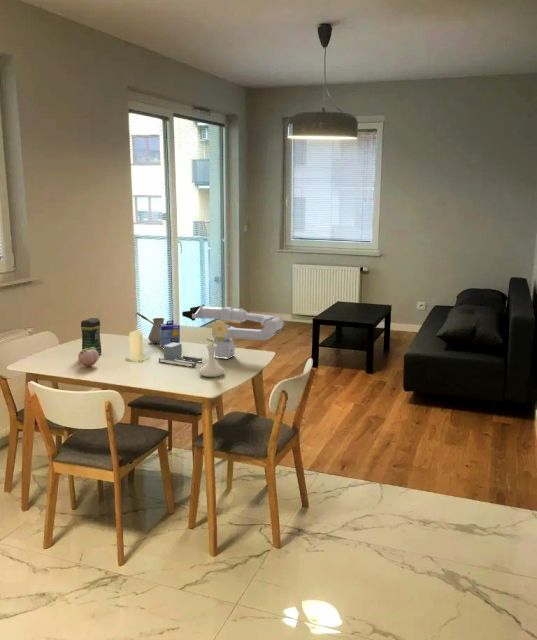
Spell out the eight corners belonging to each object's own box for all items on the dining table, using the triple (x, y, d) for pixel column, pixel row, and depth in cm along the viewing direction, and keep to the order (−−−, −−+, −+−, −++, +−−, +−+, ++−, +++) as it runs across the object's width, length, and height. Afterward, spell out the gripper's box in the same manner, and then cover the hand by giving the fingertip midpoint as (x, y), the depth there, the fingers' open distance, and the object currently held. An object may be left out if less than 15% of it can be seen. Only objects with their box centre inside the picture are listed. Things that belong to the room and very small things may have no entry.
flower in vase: (201, 379, 267) (200, 323, 262) (197, 372, 278) (196, 318, 273) (230, 377, 271) (230, 322, 266) (225, 370, 282) (225, 317, 276)
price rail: (205, 362, 294) (205, 358, 294) (193, 367, 285) (193, 363, 285) (170, 357, 303) (170, 353, 303) (158, 362, 294) (158, 358, 294)
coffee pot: (174, 341, 334) (173, 314, 331) (160, 346, 325) (160, 318, 322) (143, 336, 345) (142, 310, 341) (129, 341, 335) (128, 314, 332)
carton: (181, 357, 304) (181, 343, 302) (172, 361, 296) (172, 347, 295) (172, 355, 306) (172, 342, 304) (163, 359, 299) (163, 345, 297)
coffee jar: (93, 358, 300) (91, 321, 296) (79, 356, 302) (77, 319, 299) (104, 353, 309) (102, 317, 306) (90, 352, 312) (88, 316, 308)
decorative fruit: (89, 363, 291) (88, 342, 289) (102, 365, 288) (101, 345, 286) (74, 368, 283) (73, 347, 281) (87, 370, 279) (86, 349, 277)
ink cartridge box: (162, 349, 318) (161, 321, 315) (159, 346, 323) (158, 319, 320) (180, 347, 322) (180, 320, 319) (177, 345, 327) (176, 318, 324)
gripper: (216, 301, 308) (193, 300, 313) (202, 308, 295) (178, 307, 300) (217, 314, 309) (194, 313, 315) (204, 322, 297) (179, 321, 302)
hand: (186, 311), depth 308 cm, fingers open, 7 cm apart
